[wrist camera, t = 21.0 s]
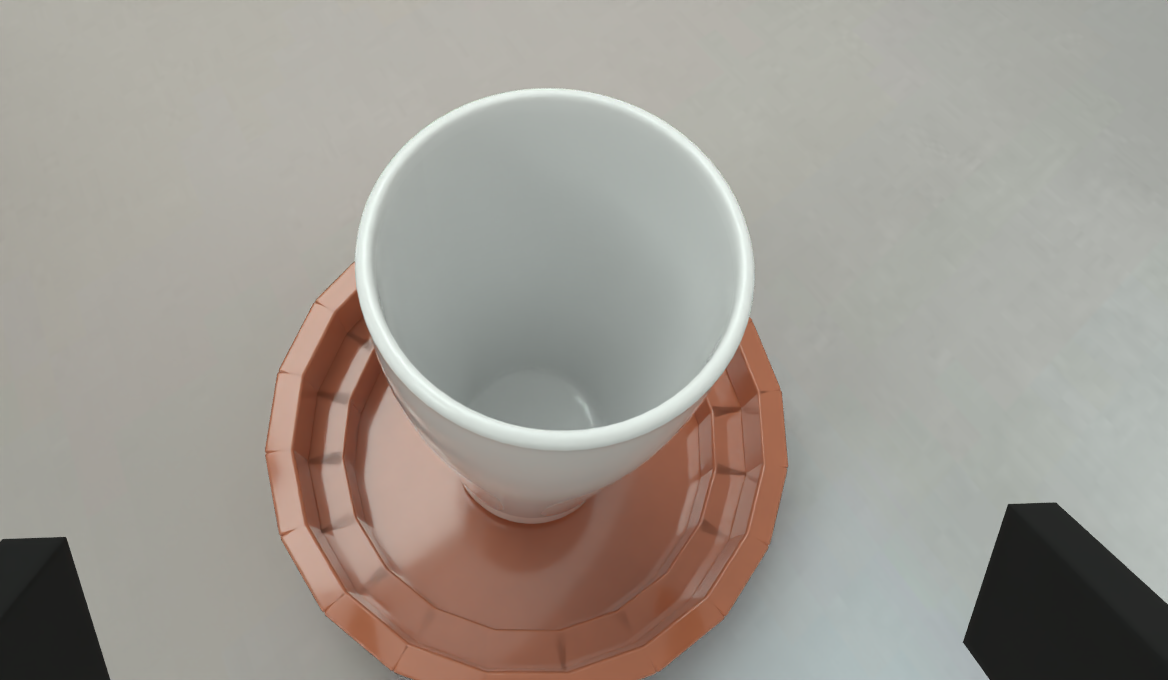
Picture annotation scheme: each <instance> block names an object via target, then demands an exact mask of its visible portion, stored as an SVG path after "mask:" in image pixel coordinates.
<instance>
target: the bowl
mask: <svg viewBox="0 0 1168 680" xmlns="http://www.w3.org/2000/svg"><path fill="white" fill-rule="evenodd" d="M265 452H266V455H265V458H266V463H267V469H268V475H269V480H270V486H271V492H272V497H273V503H274V509H275V514H276V520H277V526H278V531H279V535H280V536H281V541H282V542H283V544H284V546H285V548H286V549H287V551H288V553H289V555H290V556H291V558H292V560H293V562H294V563H295V565H296V567H297V569H298V570H299V572H300V574H301V576H302V577H303V579H304V581H305V582H306V584H307V586H308V588H309V589H310V591H311V593H312V595H313V596H314V598H315V600H316V602H317V603H318V605H319V607H320V609H321V610H322V611H323V612H325V613H324V614H325V616H327V617H328V618H329V619H330V620H331V621H333V622H334V623H335V624H336V625H337V626H338V627H340V628H341V629H342V630H343V631H344V632H346V633H347V634H348V635H349V636H350V637H351V638H353V639H354V640H355V641H356V642H357V643H359V644H360V645H361V646H362V647H363V648H365V649H366V650H367V651H368V652H369V653H370V654H372V655H373V656H374V657H375V658H376V659H378V660H379V661H380V662H381V663H382V664H384V665H385V666H386V667H387V668H388V669H389V670H391V671H394V673H396V674H399V675H401V676H404V677H407V678H410V679H412V680H640V679H643V678H646V677H649V676H652V675H654V674H656V672H660V671H661V670H662V669H664V668H665V667H666V666H667V665H669V664H670V663H671V662H672V661H673V660H675V659H676V658H677V657H678V656H680V655H681V654H682V653H683V652H684V651H686V650H687V649H688V648H689V647H691V646H692V645H693V644H694V643H696V642H697V641H698V640H699V639H700V638H702V637H703V636H704V635H705V634H707V633H708V632H709V631H710V630H711V629H713V628H714V627H715V626H716V625H718V624H719V623H720V622H721V621H723V620H724V617H725V616H727V615H728V613H729V611H730V610H731V608H732V607H733V605H734V603H735V602H736V600H737V599H738V597H739V595H740V594H741V592H742V590H743V589H744V587H745V586H746V584H747V582H748V581H749V579H750V578H751V576H752V574H753V573H754V571H755V569H756V568H757V566H758V565H759V563H760V561H761V560H762V558H763V556H764V555H765V553H766V552H767V550H768V545H770V543H771V539H772V534H773V530H774V526H775V521H776V517H777V513H778V508H779V504H780V500H781V496H782V491H783V487H784V483H785V478H786V474H787V467H788V459H787V447H786V436H785V424H784V413H783V401H782V392H781V391H780V386H779V384H778V382H777V379H776V377H775V374H774V372H773V369H772V367H771V365H770V362H769V360H768V357H767V355H766V352H765V350H764V348H763V345H762V343H761V340H760V338H759V335H758V333H757V331H756V328H755V326H754V323H753V322H752V319H751V318H750V317H749V320H748V324H747V327H746V329H745V332H744V335H743V337H742V340H741V342H740V344H739V346H738V348H737V350H736V352H735V354H734V356H733V358H732V360H731V361H730V363H729V364H728V366H727V367H726V369H725V371H724V372H723V374H722V375H721V376H720V377H719V379H718V380H717V382H716V383H715V385H714V386H713V388H712V390H711V391H710V393H709V394H708V396H707V397H706V399H705V400H704V401H703V403H702V404H701V405H700V407H699V408H698V409H697V411H696V412H695V413H694V414H693V416H692V417H691V418H690V419H689V421H688V422H687V423H686V424H685V425H684V427H683V428H682V429H681V430H680V431H679V432H678V433H677V434H676V435H675V436H674V437H673V438H672V439H671V440H670V441H669V442H668V443H667V444H666V445H665V446H664V447H663V448H662V449H661V450H660V451H659V452H658V453H657V454H656V455H655V456H654V457H652V458H651V459H650V460H649V461H647V462H646V463H645V464H644V465H642V466H641V467H640V468H638V469H637V470H635V471H634V472H632V473H631V474H629V475H628V476H626V477H625V478H623V479H622V480H620V481H618V482H617V483H615V484H613V485H611V486H609V487H608V488H606V489H604V490H602V491H600V492H599V493H597V494H595V495H593V496H592V497H591V498H590V499H589V500H588V501H587V502H586V503H585V504H584V505H582V506H581V507H580V508H579V509H577V510H576V511H574V512H572V513H571V514H569V515H567V516H565V517H563V518H560V519H557V520H554V521H551V522H546V523H539V524H524V523H517V522H512V521H508V520H505V519H502V518H500V517H498V516H496V515H494V514H492V513H490V512H489V511H487V510H486V509H485V508H483V507H482V506H481V505H480V504H478V503H477V502H476V501H475V500H474V499H473V498H472V496H471V495H470V494H469V493H468V491H467V490H466V489H465V487H464V485H463V484H462V482H461V480H460V478H459V477H458V476H457V475H456V474H455V473H454V472H452V471H451V470H450V469H449V468H448V467H447V466H446V465H445V464H444V463H443V462H442V461H441V460H440V459H439V458H438V457H437V455H436V454H435V453H434V452H433V451H432V450H431V449H430V448H429V447H428V446H427V445H426V443H425V442H424V441H423V440H422V438H421V437H420V436H419V434H418V433H417V432H416V430H415V429H414V428H413V426H412V425H411V424H410V422H409V420H408V419H407V417H406V416H405V414H404V412H403V411H402V409H401V407H400V406H399V404H398V402H397V400H396V398H395V397H394V395H393V393H392V390H391V388H390V386H389V384H388V382H387V380H386V377H385V375H384V373H383V371H382V368H381V366H380V363H379V361H378V358H377V355H376V352H375V349H374V346H373V343H372V340H371V337H370V334H369V331H368V328H367V325H366V322H365V319H364V316H363V313H362V310H361V307H360V303H359V298H358V293H357V288H356V277H355V261H354V262H353V263H352V264H351V265H350V266H349V267H348V268H347V269H346V270H345V271H344V272H343V273H342V274H341V275H340V276H339V277H338V278H337V279H336V280H335V281H334V282H333V283H332V284H331V285H330V286H329V287H328V288H327V289H326V290H325V291H324V292H323V293H322V294H321V295H320V296H319V297H318V298H317V299H316V301H315V302H314V303H313V305H312V307H311V309H310V311H309V313H308V315H307V317H306V319H305V321H304V322H303V324H302V326H301V328H300V330H299V332H298V334H297V336H296V338H295V340H294V342H293V344H292V346H291V347H290V349H289V351H288V353H287V355H286V357H285V359H284V361H283V363H282V365H281V367H280V369H279V372H278V374H277V379H276V385H275V391H274V397H273V404H272V410H271V416H270V422H269V428H268V435H267V441H266V447H265Z"/></svg>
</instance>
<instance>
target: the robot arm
mask: <svg viewBox="0 0 1168 680" xmlns="http://www.w3.org/2000/svg"><path fill="white" fill-rule="evenodd" d="M963 643H964V644H965V646H966V647H967V648H968V650H969V651H970V653H971V654H972V655H973V657H974V658H975V660H976V661H977V662H978V664H979V665H980V667H981V668H982V669H983V671H984V672H985V674H986V675H987V676H988V678H989V679H990V680H1168V604H1167V603H1165V602H1164V601H1163V600H1162V599H1161V598H1160V597H1159V596H1158V595H1157V594H1156V593H1155V592H1153V591H1152V590H1151V589H1150V588H1149V587H1148V586H1147V585H1146V584H1145V583H1144V582H1142V581H1141V580H1140V579H1139V578H1138V577H1137V576H1136V575H1135V574H1134V573H1133V572H1132V571H1130V570H1129V569H1128V568H1127V567H1126V566H1125V565H1124V564H1123V563H1122V562H1121V561H1119V560H1118V559H1117V558H1116V557H1115V556H1114V555H1113V554H1112V553H1111V552H1110V551H1108V550H1107V549H1106V548H1105V547H1104V546H1103V545H1102V544H1101V543H1100V542H1099V541H1098V540H1096V539H1095V538H1094V537H1093V536H1092V535H1091V534H1090V533H1089V532H1088V531H1087V530H1085V529H1084V528H1083V527H1082V526H1081V525H1080V524H1079V523H1078V522H1077V521H1076V520H1075V519H1073V518H1072V517H1071V516H1070V515H1069V514H1068V513H1067V512H1066V511H1065V510H1064V509H1062V508H1061V507H1060V506H1059V505H1058V504H1057V503H1028V504H1008V506H1007V509H1006V512H1005V515H1004V518H1003V521H1002V525H1001V528H1000V531H999V534H998V537H997V540H996V543H995V546H994V549H993V552H992V555H991V558H990V561H989V564H988V567H987V570H986V573H985V577H984V580H983V583H982V586H981V589H980V592H979V595H978V598H977V601H976V604H975V607H974V610H973V613H972V616H971V619H970V622H969V625H968V629H967V632H966V635H965V638H964V641H963ZM0 680H110V677H109V674H108V671H107V668H106V664H105V661H104V658H103V655H102V652H101V648H100V645H99V642H98V639H97V635H96V632H95V629H94V626H93V622H92V619H91V616H90V613H89V610H88V606H87V603H86V600H85V597H84V593H83V590H82V587H81V584H80V580H79V577H78V574H77V571H76V568H75V564H74V561H73V558H72V555H71V551H70V548H69V545H68V542H67V538H66V537H53V538H24V539H2V541H1V542H0Z"/></svg>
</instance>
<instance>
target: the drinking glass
mask: <svg viewBox="0 0 1168 680" xmlns="http://www.w3.org/2000/svg"><path fill="white" fill-rule="evenodd" d="M355 277H356V288H357V293H358V298H359V303H360V307H361V310H362V313H363V316H364V319H365V322H366V325H367V328H368V331H369V334H370V337H371V340H372V343H373V346H374V349H375V352H376V355H377V358H378V361H379V363H380V366H381V368H382V371H383V373H384V375H385V377H386V380H387V382H388V384H389V386H390V388H391V390H392V393H393V395H394V397H395V398H396V400H397V402H398V404H399V406H400V407H401V409H402V411H403V412H404V414H405V416H406V417H407V419H408V420H409V422H410V424H411V425H412V426H413V428H414V429H415V430H416V432H417V433H418V434H419V436H420V437H421V438H422V440H423V441H424V442H425V443H426V445H427V446H428V447H429V448H430V449H431V450H432V451H433V452H434V453H435V454H436V455H437V457H438V458H439V459H440V460H441V461H442V462H443V463H444V464H445V465H446V466H447V467H448V468H449V469H450V470H451V471H452V472H454V473H455V474H456V475H457V476H458V477H459V478H460V480H461V482H462V484H463V485H464V487H465V489H466V490H467V491H468V493H469V494H470V495H471V496H472V498H473V499H474V500H475V501H476V502H477V503H478V504H480V505H481V506H482V507H483V508H485V509H486V510H487V511H489V512H490V513H492V514H494V515H496V516H498V517H500V518H502V519H505V520H508V521H512V522H517V523H524V524H539V523H546V522H551V521H554V520H557V519H560V518H563V517H565V516H567V515H569V514H571V513H572V512H574V511H576V510H577V509H579V508H580V507H581V506H582V505H584V504H585V503H586V502H587V501H588V500H589V499H590V498H591V497H592V496H593V495H595V494H597V493H599V492H600V491H602V490H604V489H606V488H608V487H609V486H611V485H613V484H615V483H617V482H618V481H620V480H622V479H623V478H625V477H626V476H628V475H629V474H631V473H632V472H634V471H635V470H637V469H638V468H640V467H641V466H642V465H644V464H645V463H646V462H647V461H649V460H650V459H651V458H652V457H654V456H655V455H656V454H657V453H658V452H659V451H660V450H661V449H662V448H663V447H664V446H665V445H666V444H667V443H668V442H669V441H670V440H671V439H672V438H673V437H674V436H675V435H676V434H677V433H678V432H679V431H680V430H681V429H682V428H683V427H684V425H685V424H686V423H687V422H688V421H689V419H690V418H691V417H692V416H693V414H694V413H695V412H696V411H697V409H698V408H699V407H700V405H701V404H702V403H703V401H704V400H705V399H706V397H707V396H708V394H709V393H710V391H711V390H712V388H713V386H714V385H715V383H716V382H717V380H718V379H719V377H720V376H721V375H722V374H723V372H724V371H725V369H726V367H727V366H728V364H729V363H730V361H731V360H732V358H733V356H734V354H735V352H736V350H737V348H738V346H739V344H740V342H741V340H742V337H743V335H744V332H745V329H746V327H747V324H748V320H749V316H750V312H751V308H752V302H753V295H754V282H755V267H754V255H753V248H752V243H751V238H750V234H749V230H748V227H747V224H746V220H745V218H744V215H743V213H742V210H741V208H740V205H739V203H738V201H737V199H736V197H735V195H734V193H733V192H732V190H731V188H730V186H729V185H728V183H727V182H726V180H725V179H724V177H723V176H722V174H721V173H720V172H719V170H718V169H717V168H716V166H715V165H714V164H713V163H712V161H711V160H710V159H709V158H708V157H707V156H706V155H705V154H704V153H703V152H702V151H701V150H700V149H699V148H698V147H697V146H696V145H695V144H694V143H693V142H692V141H691V140H689V139H688V138H687V137H686V136H685V135H683V134H682V133H681V132H679V131H678V130H677V129H675V128H674V127H673V126H671V125H670V124H668V123H666V122H665V121H663V120H662V119H660V118H658V117H657V116H655V115H653V114H651V113H649V112H647V111H645V110H643V109H641V108H639V107H636V106H634V105H632V104H629V103H627V102H624V101H621V100H618V99H615V98H612V97H609V96H605V95H601V94H596V93H592V92H587V91H580V90H574V89H561V88H534V89H523V90H516V91H510V92H504V93H499V94H496V95H492V96H488V97H484V98H482V99H479V100H476V101H473V102H470V103H468V104H465V105H463V106H461V107H459V108H457V109H454V110H452V111H450V112H449V113H447V114H445V115H443V116H442V117H440V118H438V119H436V120H435V121H434V122H432V123H431V124H429V125H428V126H426V127H425V128H424V129H422V130H421V131H420V132H419V133H417V134H416V135H415V136H414V137H413V138H412V139H410V140H409V141H408V142H407V143H406V144H405V145H404V146H403V147H402V148H401V149H400V150H399V151H398V152H397V154H396V155H395V156H394V157H393V159H392V160H391V161H390V162H389V164H388V165H387V166H386V167H385V169H384V171H383V172H382V174H381V175H380V177H379V178H378V180H377V182H376V183H375V185H374V187H373V189H372V191H371V193H370V196H369V198H368V200H367V203H366V205H365V208H364V211H363V214H362V217H361V221H360V225H359V229H358V233H357V241H356V248H355Z"/></svg>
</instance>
